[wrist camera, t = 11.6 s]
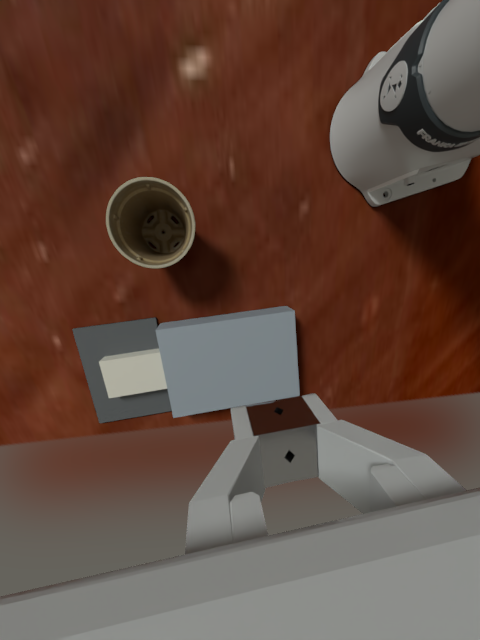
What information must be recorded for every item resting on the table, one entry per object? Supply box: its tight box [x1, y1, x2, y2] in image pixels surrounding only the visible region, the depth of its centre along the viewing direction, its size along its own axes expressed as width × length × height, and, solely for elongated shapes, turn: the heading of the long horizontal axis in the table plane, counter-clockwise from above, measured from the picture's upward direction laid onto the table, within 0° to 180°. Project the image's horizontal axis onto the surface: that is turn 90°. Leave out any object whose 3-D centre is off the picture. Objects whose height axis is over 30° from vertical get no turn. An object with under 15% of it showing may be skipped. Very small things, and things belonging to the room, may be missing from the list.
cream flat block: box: [99, 348, 167, 398], centre depth 38 cm, size 9×6×2 cm, turn 97°
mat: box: [72, 318, 172, 423], centre depth 39 cm, size 12×16×1 cm
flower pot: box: [106, 177, 195, 268], centre depth 32 cm, size 9×9×9 cm
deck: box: [155, 306, 300, 418], centre depth 39 cm, size 20×14×4 cm
